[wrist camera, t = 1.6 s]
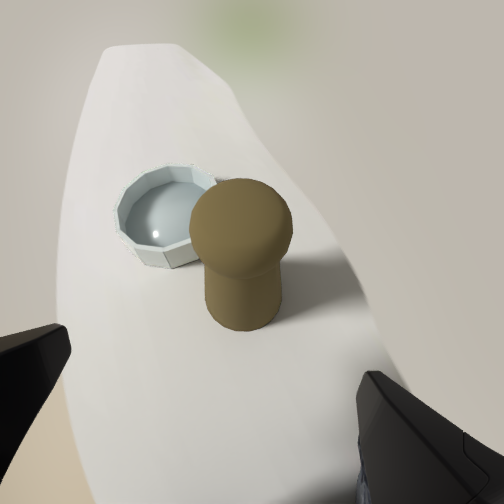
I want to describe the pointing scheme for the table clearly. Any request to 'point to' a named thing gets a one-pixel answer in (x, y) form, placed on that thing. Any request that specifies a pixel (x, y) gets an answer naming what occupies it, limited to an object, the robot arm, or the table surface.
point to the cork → (241, 250)
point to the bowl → (161, 213)
